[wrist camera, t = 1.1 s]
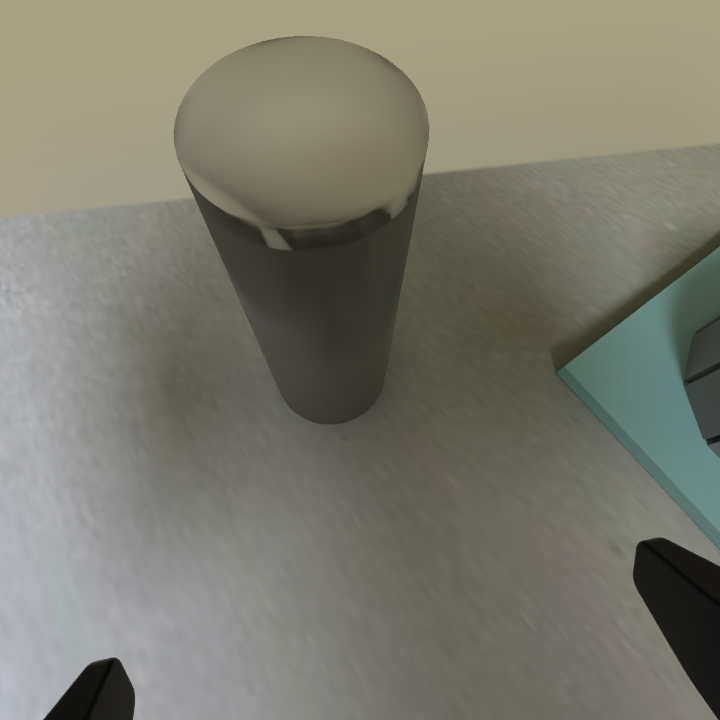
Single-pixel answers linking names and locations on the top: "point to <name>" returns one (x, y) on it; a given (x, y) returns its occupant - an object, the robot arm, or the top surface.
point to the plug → (310, 206)
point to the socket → (665, 389)
